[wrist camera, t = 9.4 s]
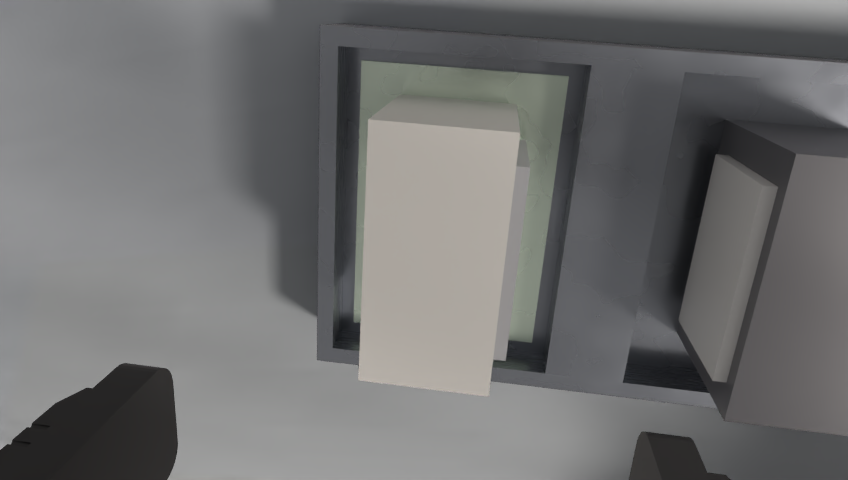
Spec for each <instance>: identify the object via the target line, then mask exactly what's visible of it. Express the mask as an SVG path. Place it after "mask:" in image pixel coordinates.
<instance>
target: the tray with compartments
mask: <svg viewBox="0 0 848 480" xmlns="http://www.w3.org/2000/svg"><path fill="white" fill-rule="evenodd" d="M400 94H403V95H414V96H426V97H438V98H450V99H462V100H473V101H485V102H497V103H509V104H517V111H518V118H519V126H520V139H521V140H526V144H527V150H528V156H529V162H530V174H529V182H528V190H527V198H526V206H525V213H524V221H523V229H522V237H521V245H520V253H519V260H518V268H517V276H516V284H515V292H514V300H513V307H512V315H511V323H510V331H509V339H508V347H507V354H506V361H501V360H493V365H492V373H491V381H494V382H502V383H510V384H519V385H527V386H535V387H543V388H552V389H560V390H568V391H576V392H585V393H593V394H601V395H609V396H618V397H626V398H634V399H642V400H651V401H659V402H667V403H675V404H684V405H692V406H700V407H708V408H717V407H716V405H715V403H714V401H713V399H712V397H711V395H710V393H709V392H708V390H707V388H706V386H705V384H704V382H703V380H702V379H701V377H700V375H699V373H698V371H697V369H696V367H695V366H694V364H693V362H692V360H691V358H690V356H689V354H688V352H687V351H686V349H685V347H684V345H683V343H682V341H681V339H680V338H679V336H678V334H677V331H678V327H679V320H678V319H679V315H680V310H681V306H682V301H683V297H684V293H685V288H686V284H687V279H688V275H689V270H690V266H691V262H692V257H693V253H694V248H695V244H696V239H697V235H698V231H699V226H700V222H701V217H702V213H703V208H704V204H705V200H706V195H707V191H708V186H709V182H710V177H711V173H712V169H713V164H714V160H715V155H716V154H718V150H719V146H720V142H721V137H722V133H723V128H724V124H725V120H726V119H727V120H739V121H752V122H764V123H776V124H788V125H801V126H813V127H825V128H837V129H848V60H837V59H823V58H810V57H796V56H782V55H768V54H754V53H741V52H727V51H713V50H699V49H685V48H672V47H658V46H644V45H630V44H616V43H603V42H589V41H575V40H561V39H547V38H534V37H520V36H506V35H492V34H478V33H465V32H451V31H437V30H423V29H409V28H396V27H382V26H368V25H354V24H326V25H320V70H319V189H318V308H317V360H321V361H329V362H337V363H345V364H354V365H359V351H360V325H361V298H362V271H363V244H364V217H365V191H366V164H367V137H368V119H369V118H371V117H372V116H373V115H374V114H376V113H377V112H378V111H379V110H381V109H382V108H383V107H385V106H386V105H387V104H388V103H390V102H391V101H392V100H394V99H395V98H396V97H397V96H399V95H400ZM717 409H718V408H717Z"/></svg>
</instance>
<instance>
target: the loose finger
mask: <svg viewBox="0 0 848 480" xmlns="http://www.w3.org/2000/svg"><path fill="white" fill-rule="evenodd" d="M529 174H530V162H529V156H528V150H527V144H526V140H521V139H520V126H519V118H518V111H517V104H509V103H497V102H485V101H473V100H462V99H450V98H438V97H426V96H414V95H403V94H400V95H399V96H397V97H396V98H395V99H394V100H392V101H391V102H390V103H388V104H387V105H386V106H385V107H383V108H382V109H381V110H379V111H378V112H377V113H376V114H374V115H373V116H372V117H371V118H369V119H368V137H367V164H366V191H365V217H364V244H363V271H362V298H361V325H360V351H359V378H358V380H359V381H367V382H375V383H383V384H391V385H399V386H407V387H415V388H423V389H430V390H438V391H446V392H454V393H462V394H470V395H478V396H486V397H489V390H490V382H491V373H492V365H493V360H501V361H506V354H507V347H508V339H509V331H510V323H511V315H512V307H513V300H514V292H515V284H516V276H517V268H518V260H519V253H520V245H521V237H522V229H523V221H524V213H525V206H526V198H527V190H528V182H529Z"/></svg>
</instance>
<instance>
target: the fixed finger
mask: <svg viewBox="0 0 848 480" xmlns="http://www.w3.org/2000/svg"><path fill="white" fill-rule="evenodd" d="M678 320H679V327H678V331H677V334H678V336H679V338H680V339H681V341H682V343H683V345H684V347H685V349H686V351H687V352H688V354H689V356H690V358H691V360H692V362H693V364H694V366H695V367H696V369H697V371H698V373H699V375H700V377H701V379H702V380H703V382H704V384H705V386H706V388H707V390H708V392H709V393H710V395H711V397H712V399H713V401H714V403H715V405H716V407H717V408H718V410H719V412H720V414H721V416H722V418H723V420H724V421H728V422H737V423H745V424H753V425H761V426H769V427H777V428H785V429H794V430H802V431H810V432H818V433H826V434H834V435H842V436H848V129H837V128H825V127H813V126H801V125H788V124H776V123H764V122H752V121H739V120H727V119H726V120H725V124H724V128H723V133H722V137H721V142H720V146H719V150H718V154H716V155H715V160H714V164H713V169H712V173H711V177H710V182H709V186H708V191H707V195H706V200H705V204H704V208H703V213H702V217H701V222H700V226H699V231H698V235H697V239H696V244H695V248H694V253H693V257H692V262H691V266H690V270H689V275H688V279H687V284H686V288H685V293H684V297H683V301H682V306H681V310H680V315H679V319H678Z"/></svg>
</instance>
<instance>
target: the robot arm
mask: <svg viewBox="0 0 848 480" xmlns="http://www.w3.org/2000/svg"><path fill="white" fill-rule="evenodd" d="M177 448H178V439H177V427H176V414H175V401H174V389H173V379H172V375H171V373H170V371H169V370H168V369H166V368H159V367H151V366H143V365H136V364H128V363H124V364H121V365H119V366H118V367H116V368H115V369H114V370H113V371H112V372H111V373H110V374H108V375H107V376H106V377H105V378H104V379H103V380H102V381H101V382H99V383H98V384H97V385H96V386H95V387H94V388H93V389H92V388H86V389H84V390H81V391H79V392H77V393H75V394H73V395H71V396H69V397H67V398H65V399H63V400H61V401H59V402H57V403H55V404H54V405H53V406H52V407H51V408H49V409H48V410H47V411H46V412H45V413H44V414H42V415H41V416H40V417H39V418H38V419H36V420H35V421H34V422H33V423H32V426H31V428H29V427H27V428H26V429H25V430H23V431H22V432H21V433H20V434H19V435H18V436H16V437H15V438H14V439H13V440H12V444H11V445H9V444H7V445H6V446H5V447H3V448H2V449H1V450H0V480H167V479H168V477H169V475H170V473H171V471H172V469H173V466H174V463H175V459H176V455H177ZM629 480H730V479H729V478H728V477H727V476H726V475H722V474H714V473H707V471H706V469H705V466H704V464H703V462H702V460H701V457H700V455H699V453H698V450H697V448H696V446H695V443H694V441H693V440H692V439H691V438H689V437H682V436H674V435H666V434H659V433H651V432H641V434H640V435H639V437H638V440H637V444H636V449H635V453H634V458H633V463H632V468H631V472H630V477H629Z"/></svg>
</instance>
